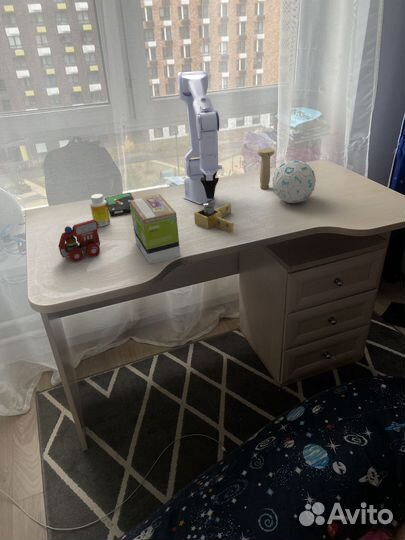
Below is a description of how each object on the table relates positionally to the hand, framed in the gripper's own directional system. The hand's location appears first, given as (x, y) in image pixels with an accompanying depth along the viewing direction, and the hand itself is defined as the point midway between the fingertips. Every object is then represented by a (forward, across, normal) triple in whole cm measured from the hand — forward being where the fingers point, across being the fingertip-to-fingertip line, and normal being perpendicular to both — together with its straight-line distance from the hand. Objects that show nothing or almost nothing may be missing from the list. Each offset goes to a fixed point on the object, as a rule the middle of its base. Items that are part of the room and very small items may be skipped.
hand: (210, 193), depth 134 cm
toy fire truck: (+10, -20, +39) cm, 45 cm away
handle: (+10, +28, -21) cm, 37 cm away
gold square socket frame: (+10, -1, -5) cm, 11 cm away
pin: (+10, -1, +1) cm, 10 cm away
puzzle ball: (+10, +14, -30) cm, 35 cm away
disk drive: (+11, +15, +34) cm, 38 cm away
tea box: (+10, -19, +16) cm, 27 cm away
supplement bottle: (+10, +1, +38) cm, 39 cm away
